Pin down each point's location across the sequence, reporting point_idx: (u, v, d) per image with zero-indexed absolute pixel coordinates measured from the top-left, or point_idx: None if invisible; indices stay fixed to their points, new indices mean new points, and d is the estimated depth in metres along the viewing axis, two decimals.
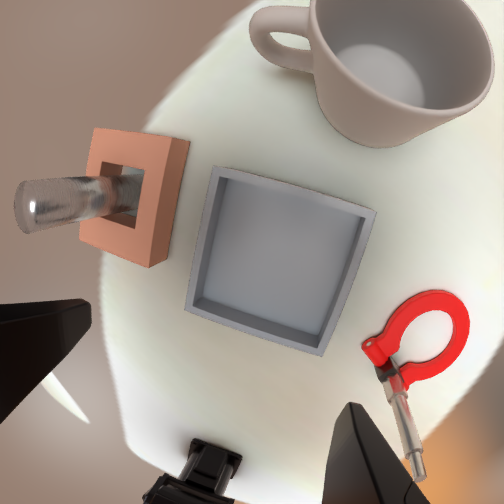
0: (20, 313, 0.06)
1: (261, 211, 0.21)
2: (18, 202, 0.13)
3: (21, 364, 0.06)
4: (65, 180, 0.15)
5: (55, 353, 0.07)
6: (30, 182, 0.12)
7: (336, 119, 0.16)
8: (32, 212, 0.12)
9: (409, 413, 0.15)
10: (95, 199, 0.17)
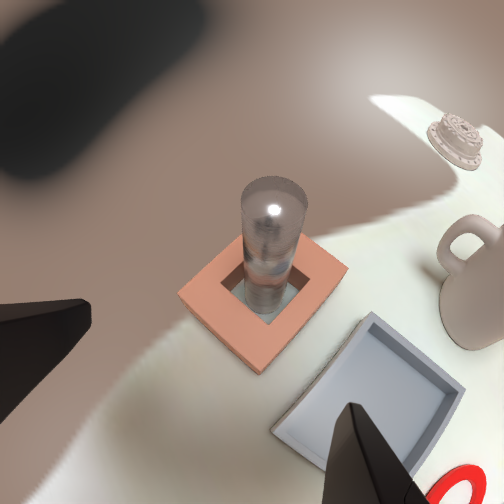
0: (20, 313, 0.06)
1: (380, 369, 0.20)
2: (261, 188, 0.13)
3: (21, 364, 0.06)
4: None
5: (55, 353, 0.07)
6: (298, 187, 0.14)
7: (462, 314, 0.19)
8: (286, 211, 0.13)
9: None
10: (290, 265, 0.17)
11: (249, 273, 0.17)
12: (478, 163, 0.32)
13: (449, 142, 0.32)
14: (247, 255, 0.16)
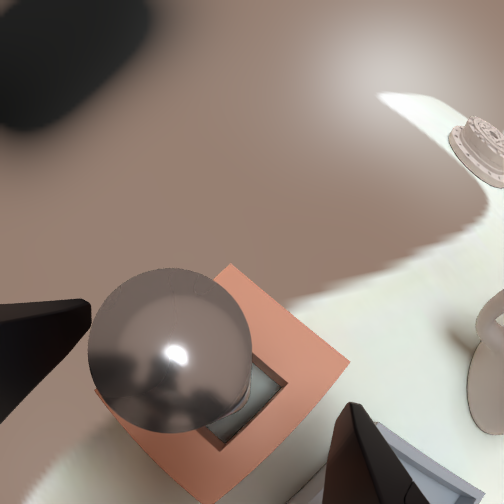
0: (20, 313, 0.06)
1: None
2: (136, 307, 0.05)
3: (21, 364, 0.06)
4: None
5: (55, 353, 0.07)
6: (234, 301, 0.05)
7: (498, 405, 0.11)
8: (190, 386, 0.04)
9: None
10: (242, 402, 0.08)
11: None
12: None
13: (477, 152, 0.24)
14: None
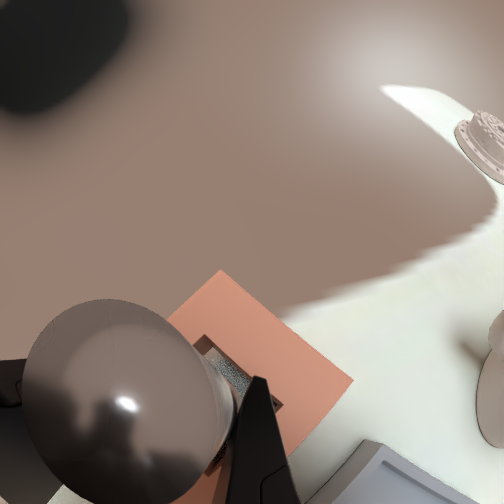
0: None
1: None
2: (70, 350, 0.03)
3: None
4: (223, 382, 0.06)
5: None
6: (193, 350, 0.03)
7: None
8: (137, 461, 0.03)
9: None
10: None
11: None
12: None
13: (485, 148, 0.22)
14: None
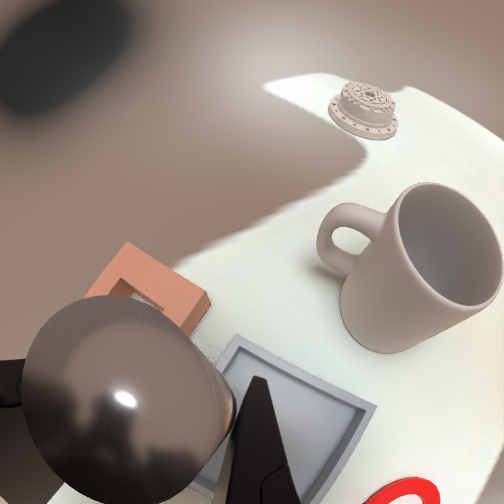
0: None
1: None
2: (70, 345, 0.03)
3: None
4: (222, 378, 0.06)
5: None
6: (192, 346, 0.03)
7: (360, 320, 0.19)
8: (135, 457, 0.03)
9: None
10: None
11: None
12: (393, 130, 0.33)
13: (352, 114, 0.32)
14: None
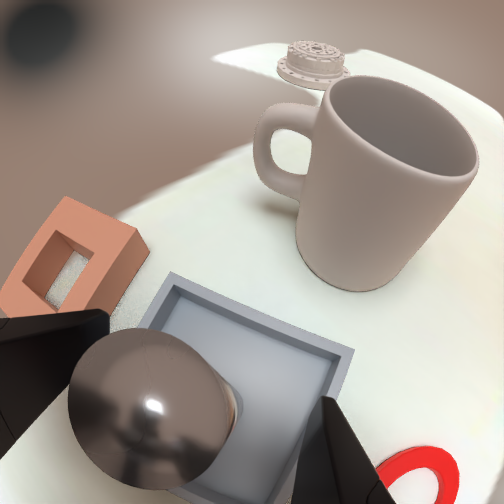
0: (37, 327, 0.06)
1: (210, 344, 0.16)
2: (111, 367, 0.04)
3: (38, 379, 0.06)
4: (228, 386, 0.07)
5: (73, 366, 0.07)
6: (209, 367, 0.05)
7: (317, 244, 0.17)
8: (166, 450, 0.04)
9: None
10: None
11: None
12: None
13: (299, 67, 0.31)
14: None
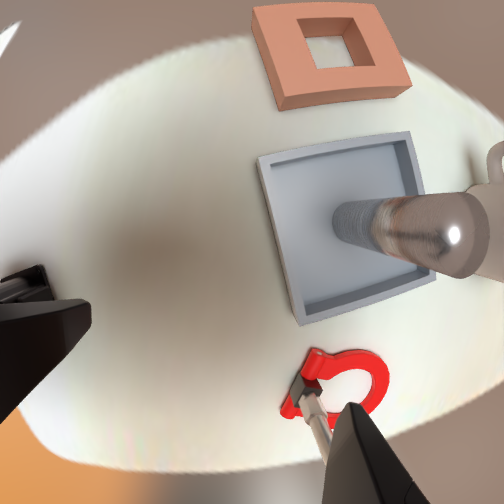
0: (20, 313, 0.06)
1: (383, 187, 0.20)
2: (468, 210, 0.08)
3: (21, 364, 0.06)
4: None
5: (55, 353, 0.07)
6: (486, 245, 0.08)
7: None
8: (459, 259, 0.08)
9: None
10: None
11: (368, 220, 0.14)
12: None
13: None
14: (387, 218, 0.12)
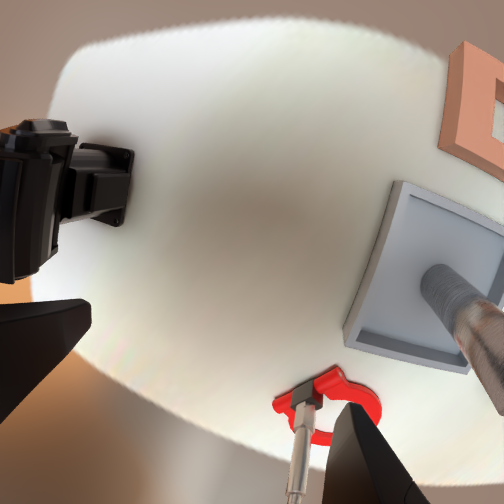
0: (20, 313, 0.06)
1: (479, 270, 0.16)
2: None
3: (21, 364, 0.06)
4: None
5: (55, 353, 0.07)
6: None
7: None
8: None
9: None
10: None
11: (464, 309, 0.11)
12: None
13: None
14: (483, 325, 0.10)
